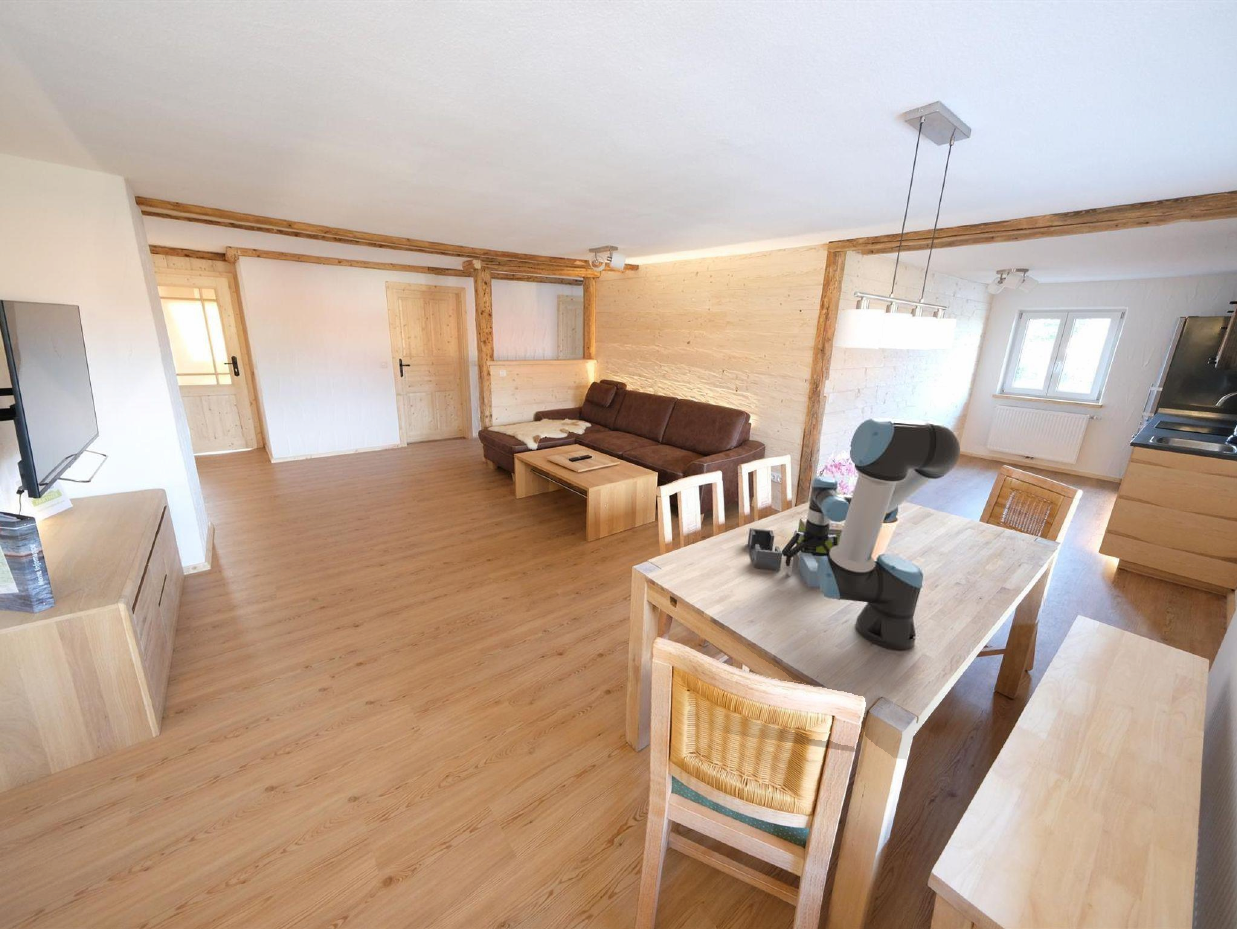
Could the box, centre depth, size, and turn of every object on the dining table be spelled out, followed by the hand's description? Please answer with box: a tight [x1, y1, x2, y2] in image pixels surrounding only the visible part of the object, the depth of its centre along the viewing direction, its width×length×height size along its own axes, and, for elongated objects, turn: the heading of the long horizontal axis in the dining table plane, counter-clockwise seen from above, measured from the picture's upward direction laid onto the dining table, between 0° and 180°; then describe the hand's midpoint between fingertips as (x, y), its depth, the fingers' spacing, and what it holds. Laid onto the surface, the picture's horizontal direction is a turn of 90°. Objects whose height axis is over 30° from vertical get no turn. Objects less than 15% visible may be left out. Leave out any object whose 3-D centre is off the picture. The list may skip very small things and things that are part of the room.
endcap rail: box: [747, 527, 783, 572], centre depth 179 cm, size 20×9×7 cm, turn 172°
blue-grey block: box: [797, 552, 820, 588], centre depth 166 cm, size 14×4×6 cm, turn 174°
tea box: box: [795, 517, 844, 563], centre depth 178 cm, size 15×10×15 cm
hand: (808, 575), depth 167 cm, fingers open, 13 cm apart
